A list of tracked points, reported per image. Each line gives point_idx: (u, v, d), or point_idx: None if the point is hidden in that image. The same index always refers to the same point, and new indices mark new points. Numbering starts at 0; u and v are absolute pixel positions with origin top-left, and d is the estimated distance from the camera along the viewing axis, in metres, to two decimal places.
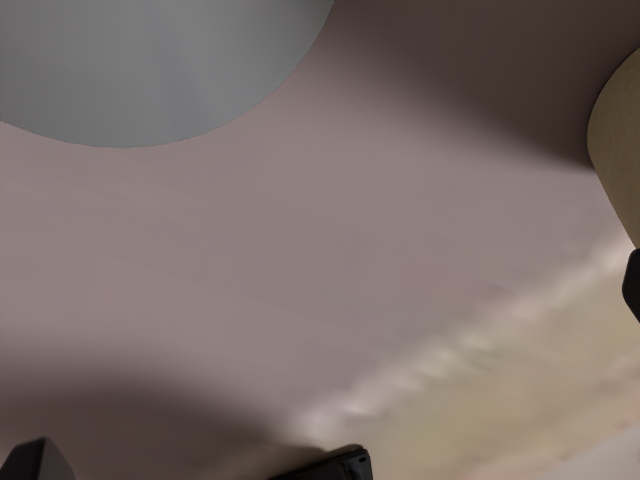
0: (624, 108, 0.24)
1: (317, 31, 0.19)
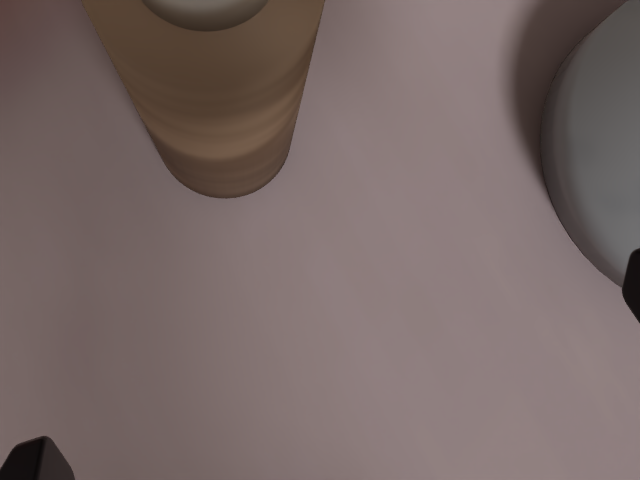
0: None
1: None
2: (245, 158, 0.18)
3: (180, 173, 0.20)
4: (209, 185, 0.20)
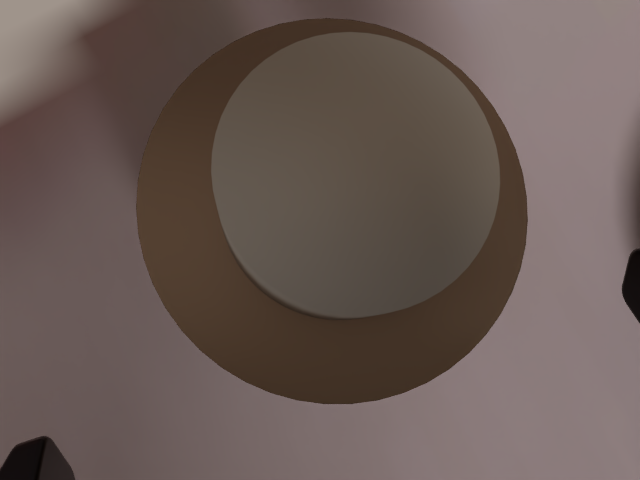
0: None
1: None
2: None
3: None
4: None
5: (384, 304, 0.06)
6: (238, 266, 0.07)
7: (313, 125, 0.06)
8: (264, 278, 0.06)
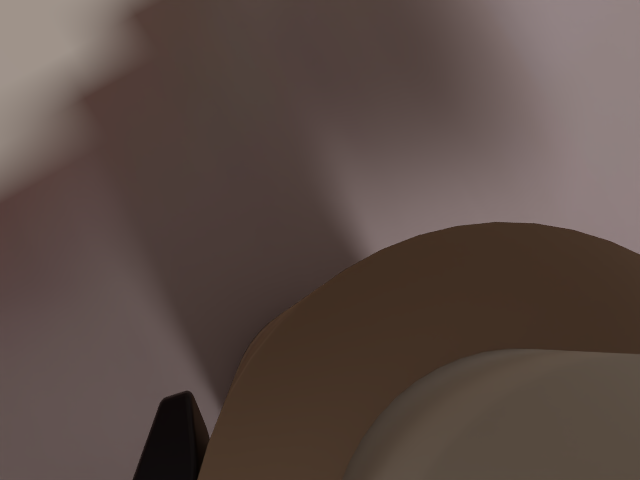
0: None
1: None
2: None
3: None
4: None
5: None
6: None
7: None
8: None
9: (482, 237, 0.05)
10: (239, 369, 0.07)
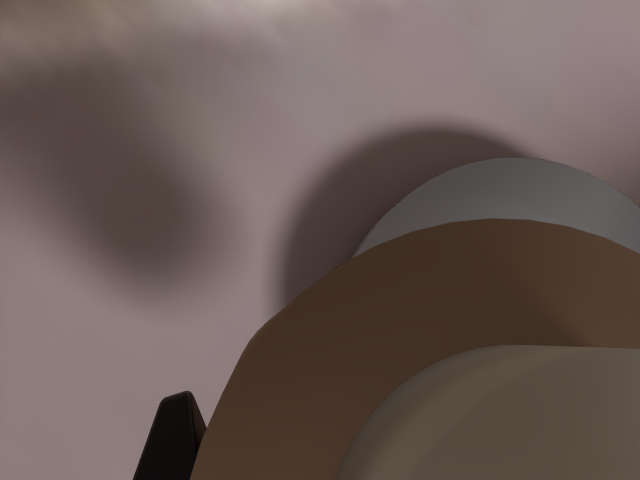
0: None
1: None
2: None
3: None
4: None
5: None
6: None
7: None
8: None
9: (476, 233, 0.05)
10: (235, 367, 0.07)
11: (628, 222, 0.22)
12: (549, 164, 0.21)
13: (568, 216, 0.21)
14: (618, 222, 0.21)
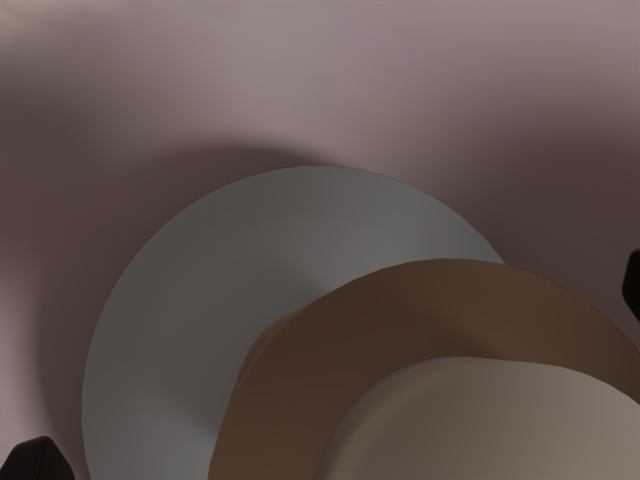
0: None
1: None
2: None
3: None
4: None
5: None
6: None
7: None
8: None
9: (431, 270, 0.06)
10: (242, 371, 0.09)
11: (422, 217, 0.18)
12: (313, 169, 0.18)
13: (347, 227, 0.17)
14: (410, 221, 0.18)
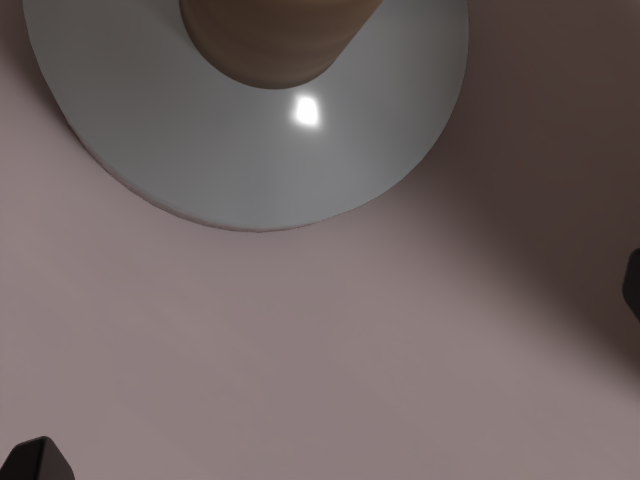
0: None
1: (429, 145, 0.19)
2: (325, 12, 0.13)
3: (210, 28, 0.15)
4: (245, 55, 0.15)
5: None
6: None
7: None
8: None
9: None
10: None
11: None
12: None
13: None
14: None
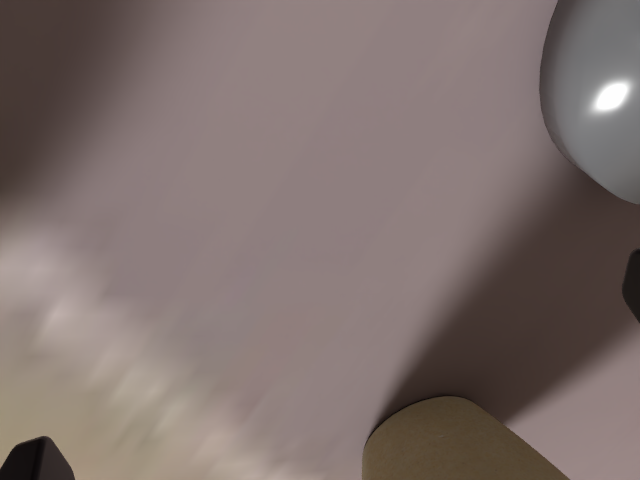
0: (477, 419, 0.31)
1: (618, 194, 0.24)
2: None
3: None
4: None
5: None
6: None
7: None
8: None
9: None
10: None
11: None
12: None
13: None
14: None
